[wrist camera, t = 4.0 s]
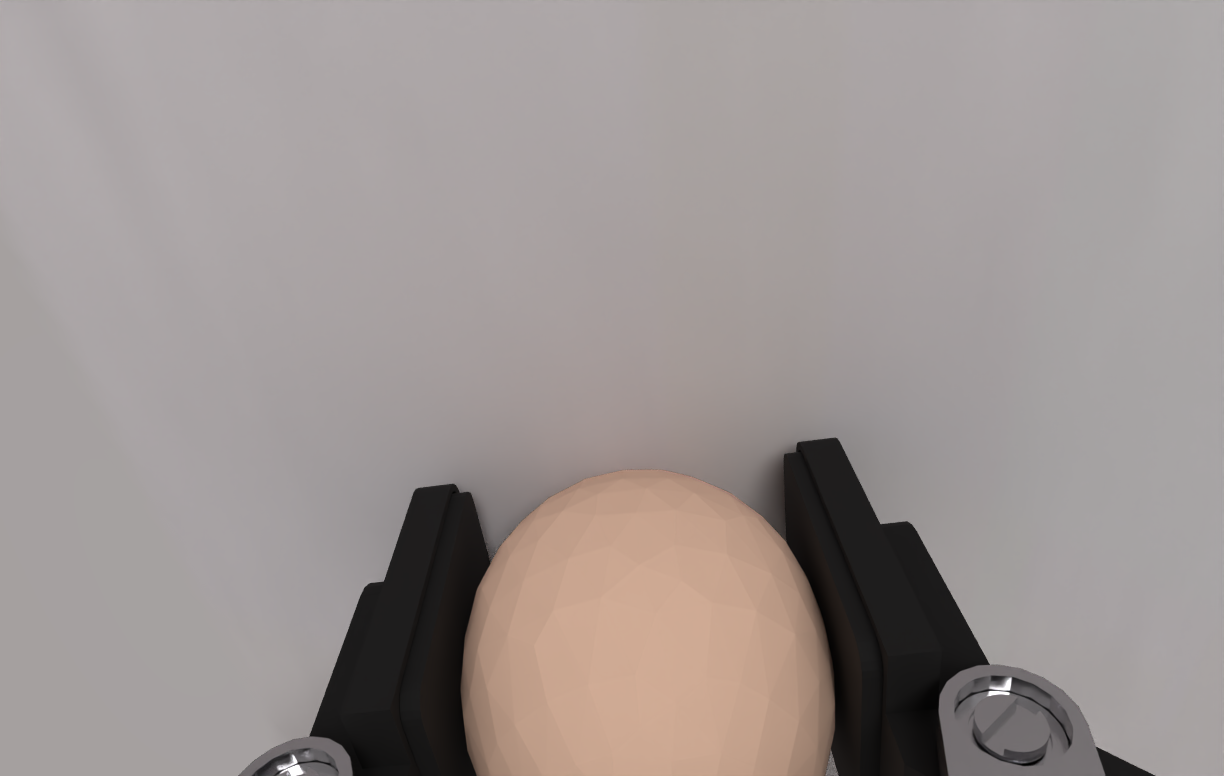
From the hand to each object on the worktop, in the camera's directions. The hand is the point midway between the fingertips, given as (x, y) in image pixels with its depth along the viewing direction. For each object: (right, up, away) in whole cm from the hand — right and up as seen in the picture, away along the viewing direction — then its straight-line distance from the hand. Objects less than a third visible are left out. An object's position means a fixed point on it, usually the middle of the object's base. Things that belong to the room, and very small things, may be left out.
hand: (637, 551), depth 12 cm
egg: (0, 0, +1) cm, 1 cm away
